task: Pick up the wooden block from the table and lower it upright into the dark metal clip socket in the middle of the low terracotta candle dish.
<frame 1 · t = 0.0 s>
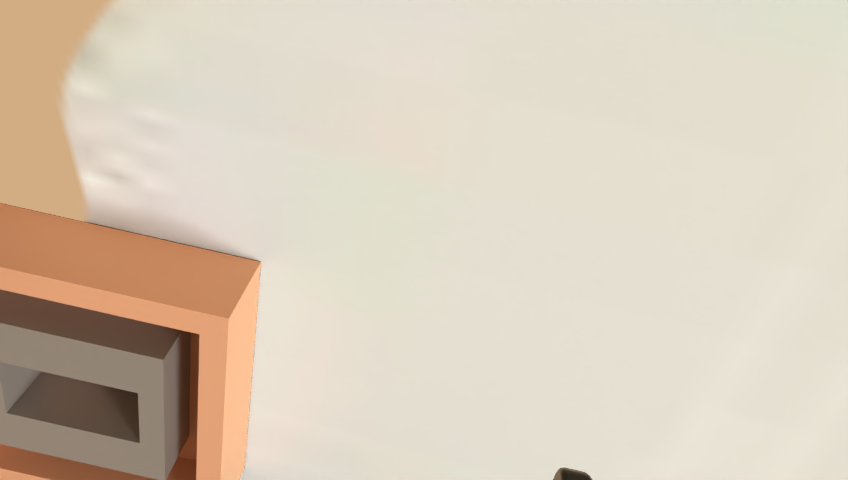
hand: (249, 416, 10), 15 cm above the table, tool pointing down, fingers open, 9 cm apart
candle dish: (114, 344, 30), on the table
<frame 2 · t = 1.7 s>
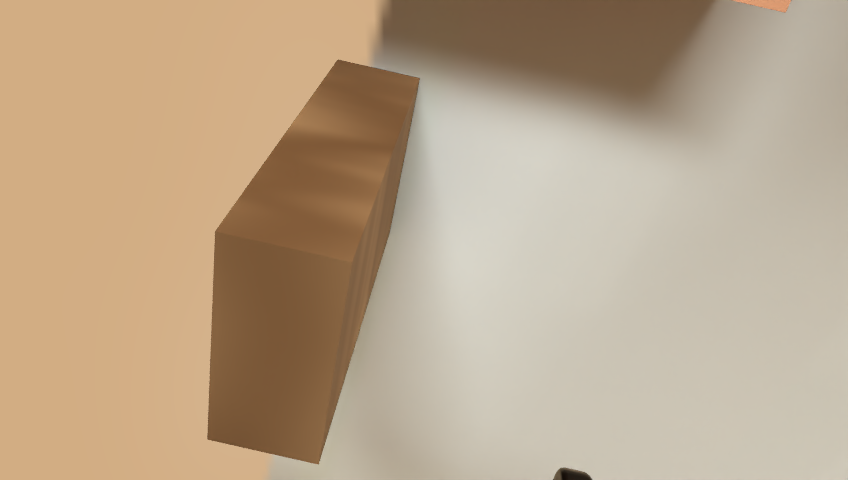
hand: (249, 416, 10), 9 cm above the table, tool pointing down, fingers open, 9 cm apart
wooden block: (365, 151, 18), on the table
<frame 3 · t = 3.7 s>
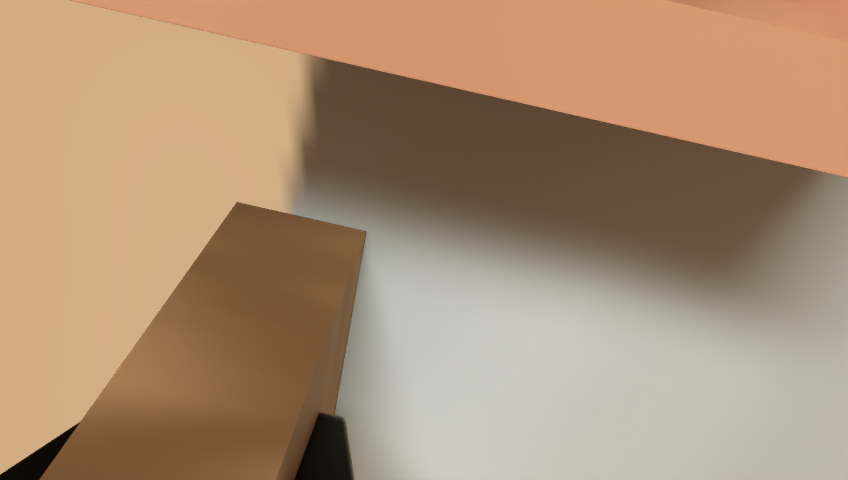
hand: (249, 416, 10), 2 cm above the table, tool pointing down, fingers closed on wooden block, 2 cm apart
wooden block: (289, 327, 12), on the table, touching gripper
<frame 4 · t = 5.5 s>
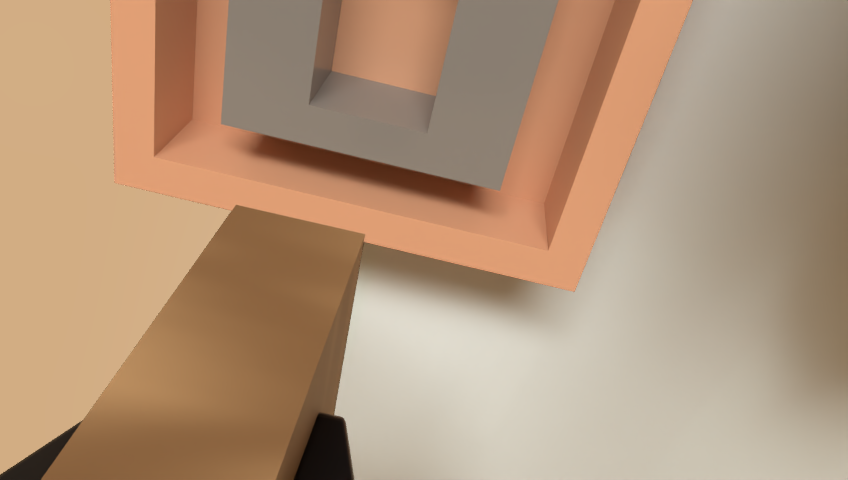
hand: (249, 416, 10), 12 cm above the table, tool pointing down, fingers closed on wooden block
wooden block: (288, 329, 12), point 10 cm above the table, touching gripper
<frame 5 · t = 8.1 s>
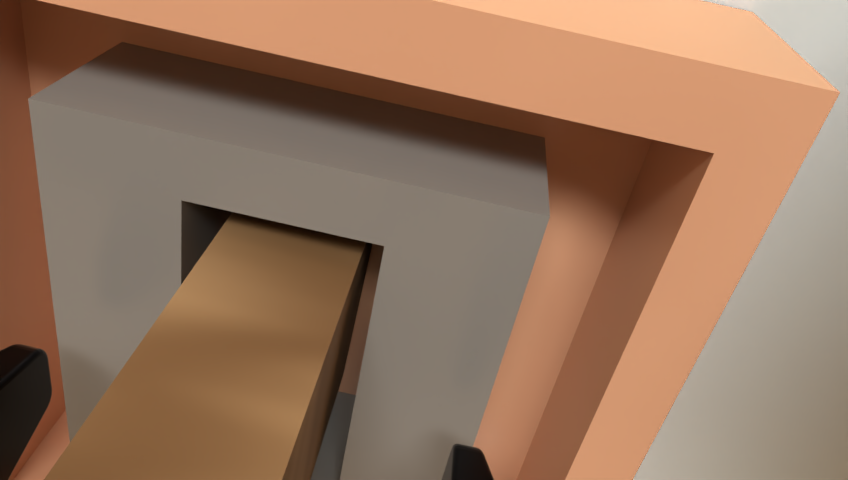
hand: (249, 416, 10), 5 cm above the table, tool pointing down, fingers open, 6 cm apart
wooden block: (309, 277, 13), point 1 cm above the table, touching candle dish
candle dish: (322, 248, 14), on the table
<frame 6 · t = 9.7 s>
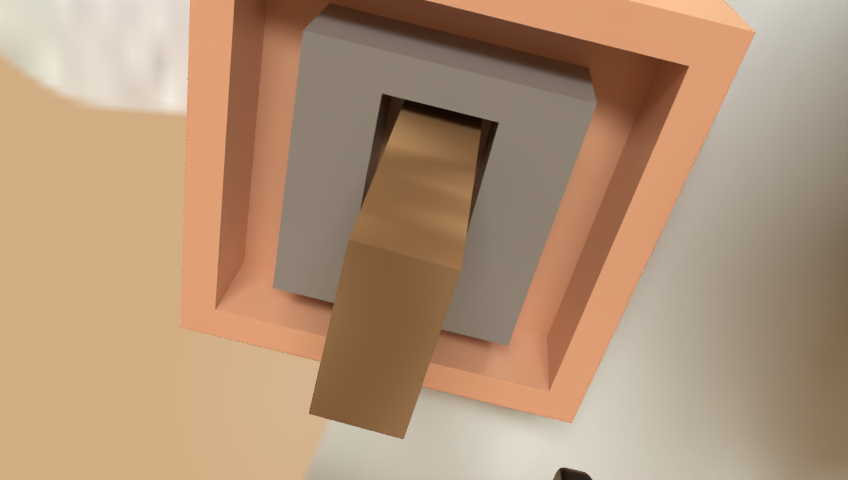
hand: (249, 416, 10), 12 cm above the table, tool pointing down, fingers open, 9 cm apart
wooden block: (428, 163, 20), point 1 cm above the table, touching candle dish
candle dish: (432, 148, 21), on the table
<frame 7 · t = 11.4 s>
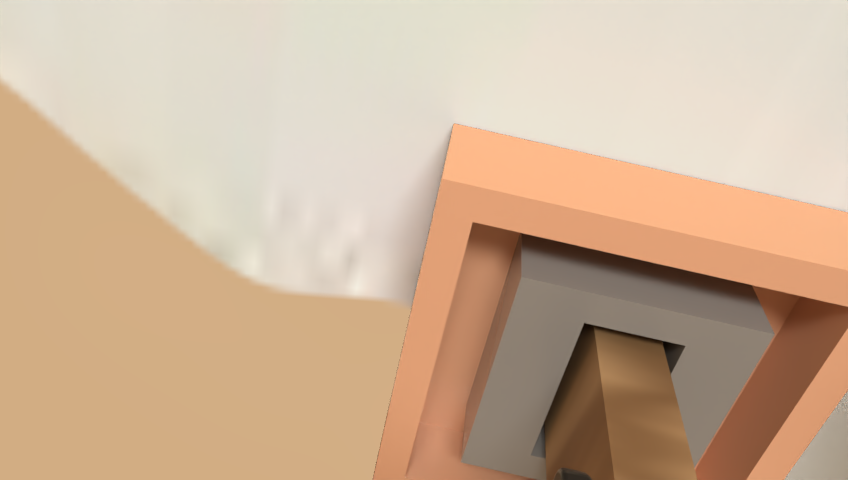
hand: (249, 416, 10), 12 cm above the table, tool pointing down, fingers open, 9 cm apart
wooden block: (595, 348, 23), point 1 cm above the table, touching candle dish
candle dish: (592, 328, 23), on the table
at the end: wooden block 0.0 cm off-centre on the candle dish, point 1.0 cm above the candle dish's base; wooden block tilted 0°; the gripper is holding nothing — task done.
